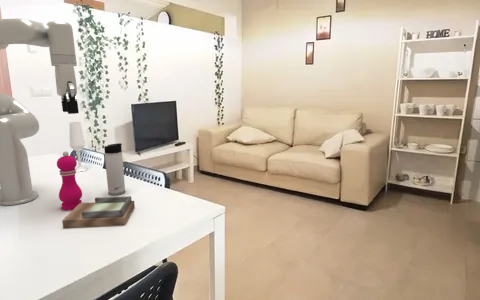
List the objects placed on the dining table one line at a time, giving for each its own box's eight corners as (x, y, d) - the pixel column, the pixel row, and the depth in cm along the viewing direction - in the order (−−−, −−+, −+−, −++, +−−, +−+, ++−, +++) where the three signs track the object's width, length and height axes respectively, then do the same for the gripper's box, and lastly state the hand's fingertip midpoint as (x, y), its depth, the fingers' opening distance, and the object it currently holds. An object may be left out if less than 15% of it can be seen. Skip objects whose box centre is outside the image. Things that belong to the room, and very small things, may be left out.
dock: (63, 228, 95) (61, 214, 94) (80, 209, 108) (79, 197, 107) (125, 225, 97) (123, 211, 96) (134, 207, 110) (133, 195, 109)
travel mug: (120, 196, 121) (116, 145, 117) (105, 195, 123) (100, 144, 118) (129, 190, 127) (125, 142, 123) (114, 189, 128) (110, 141, 124)
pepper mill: (60, 212, 106) (52, 154, 102) (60, 205, 112) (53, 150, 108) (83, 208, 109) (77, 152, 105) (83, 201, 116) (77, 148, 111)
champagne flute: (71, 170, 158) (66, 122, 152) (86, 167, 161) (81, 121, 156) (74, 173, 152) (68, 123, 147) (89, 170, 156) (84, 122, 151)
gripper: (47, 62, 110) (54, 111, 114) (55, 59, 97) (62, 115, 100) (71, 63, 114) (77, 110, 118) (81, 60, 101) (88, 113, 105)
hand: (70, 112), depth 109 cm, fingers open, 9 cm apart
